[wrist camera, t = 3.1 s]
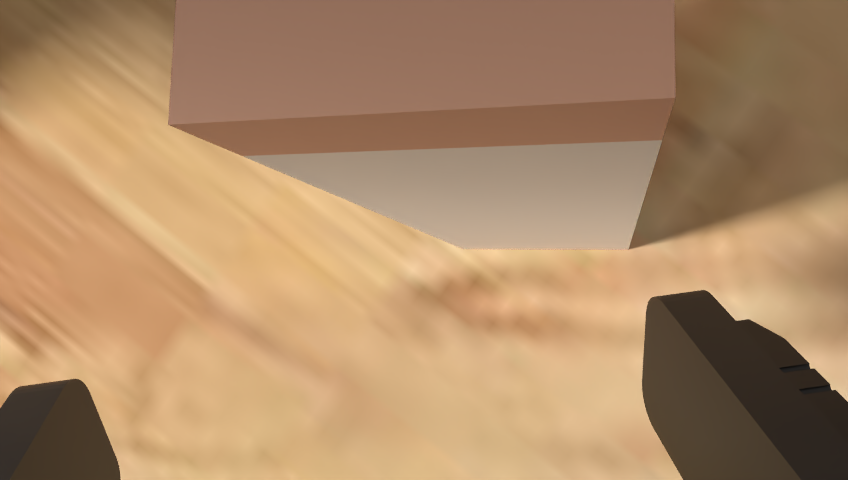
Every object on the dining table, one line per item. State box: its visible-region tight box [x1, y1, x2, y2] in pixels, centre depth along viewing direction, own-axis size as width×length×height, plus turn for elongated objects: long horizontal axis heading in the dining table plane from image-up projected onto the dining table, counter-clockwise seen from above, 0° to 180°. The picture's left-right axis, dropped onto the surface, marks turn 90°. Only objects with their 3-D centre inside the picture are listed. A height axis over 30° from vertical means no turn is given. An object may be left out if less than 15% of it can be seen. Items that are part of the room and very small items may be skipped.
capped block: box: [168, 0, 676, 250], centre depth 14 cm, size 5×5×15 cm
